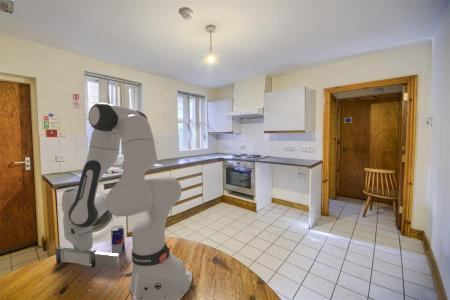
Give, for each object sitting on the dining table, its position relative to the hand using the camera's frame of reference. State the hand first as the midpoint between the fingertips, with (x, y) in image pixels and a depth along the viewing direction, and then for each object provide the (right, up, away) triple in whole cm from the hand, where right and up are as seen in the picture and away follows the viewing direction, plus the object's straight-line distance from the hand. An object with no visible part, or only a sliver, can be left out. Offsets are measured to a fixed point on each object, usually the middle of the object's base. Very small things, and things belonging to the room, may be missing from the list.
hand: (78, 253), depth 90 cm
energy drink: (+16, -2, +4) cm, 16 cm away
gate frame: (+7, -3, -5) cm, 9 cm away
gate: (+2, -2, -4) cm, 5 cm away
